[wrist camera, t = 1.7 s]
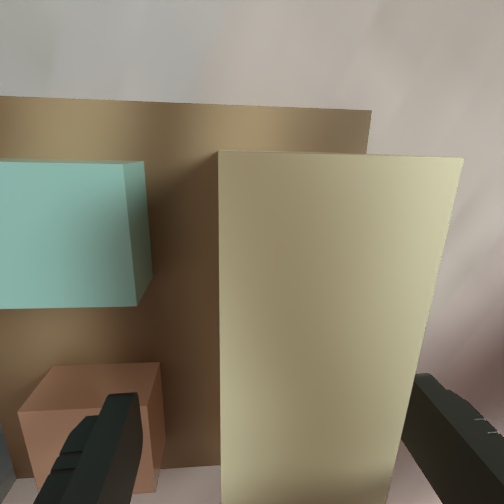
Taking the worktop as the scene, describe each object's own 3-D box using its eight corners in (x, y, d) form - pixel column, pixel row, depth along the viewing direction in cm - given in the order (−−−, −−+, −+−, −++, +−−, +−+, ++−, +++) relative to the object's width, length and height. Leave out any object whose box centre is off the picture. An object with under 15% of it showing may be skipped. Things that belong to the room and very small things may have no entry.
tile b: (159, 362, 14) (147, 405, 12) (166, 439, 15) (155, 492, 13) (53, 365, 14) (17, 411, 11) (69, 444, 15) (40, 500, 13)
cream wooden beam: (327, 152, 12) (464, 157, 5) (300, 437, 16) (354, 639, 9) (220, 149, 11) (218, 151, 5) (222, 442, 16) (222, 656, 9)
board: (345, 117, 14) (371, 110, 11) (312, 419, 19) (325, 457, 17) (-35, 103, 12) (-96, 92, 10) (44, 434, 18) (16, 478, 15)
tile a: (143, 161, 11) (122, 164, 9) (153, 276, 13) (137, 306, 10) (9, 158, 11) (-50, 160, 8) (34, 278, 12) (-10, 309, 10)
